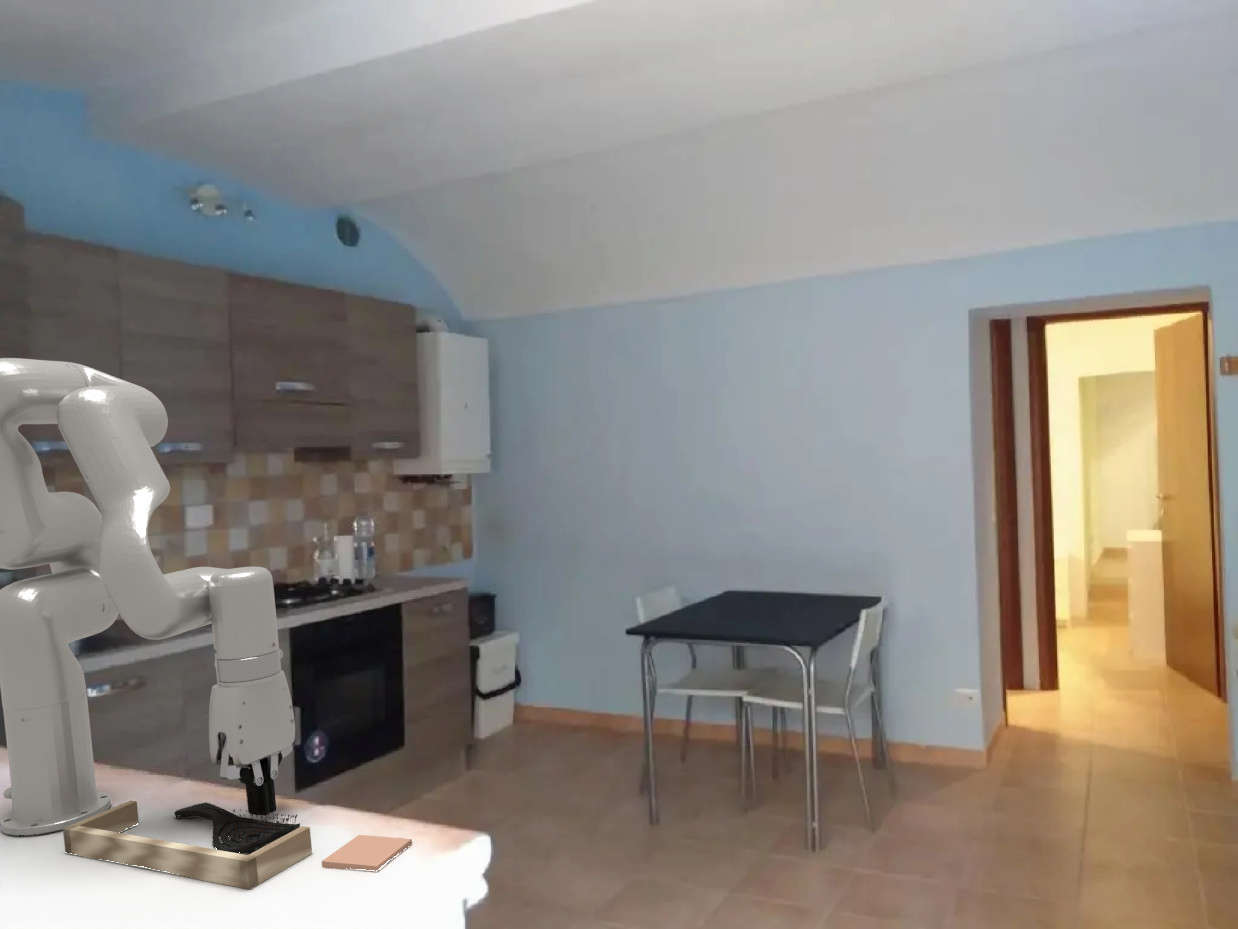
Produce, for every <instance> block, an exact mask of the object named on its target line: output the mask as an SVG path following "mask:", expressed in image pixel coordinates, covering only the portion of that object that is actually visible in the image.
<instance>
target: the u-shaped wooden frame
mask: <svg viewBox="0 0 1238 929" xmlns="http://www.w3.org/2000/svg"><path fill="white" fill-rule="evenodd" d="M138 810H139V809H138V801H137V800H128V801H126V802H124V803H121V804H119V805H116V806H114V807H113V806H112V807H111V808H108V810H106V811H104V812H101V813H99V814H97V815H94V816H92V817H89V818H87V819H85V820H82V821H80V822H77V823H75V824H73V825H70V826H68V827H65V828H63V829H62V833H63V842H64V852H67V853H72V854H77V855H80V856H79V857H81V856H84V857H83V858H86V857H89V858H88V859H91V858H94V859H93V860H96V859H102V860H109V861H114V862H119V863H122V864H123V863H124V864H128V865H137V866H144V867H147V868H151V869H155V870H160V871H167V872H170V873H174V874H179V875H181V876H180V877H184V876H186V877H184V878H188V877H192V878H191V879H193V878H196V879H195V880H199V879H200V881H205V882H210V883H214V884H219V885H225V886H231V887H234V888H240V889H246V890H252V889H253V888H255V887H257V886H258V885H261V884H262V883H264V882H265V881H267V880H269V879H270V878H272V877H274V876H276V875H277V874H279V873H281V872H282V871H285V870H286V869H288V868H291V867H292V866H294V865H295V864H296V863H298V862H301V861H302V860H304V859H305V858H307V857H308V856H311V855H312V854H313V846H312V837H311V836H312V835H311V827H310V826H301V825H300V827H299V828H298V829H296V830H294V831H292V832H290V833H288V834H286V835H284V836H283V837H281V838H279V839H277V840H275V841H273V842H271V843H269V844H266V845H264V846H262V847H259V848H257V849H256V850H255V851H253V852H251V853H250V854H245V853H244V854H238V853H233V852H227V851H221V850H216V849H215V848H209V847H203V846H199V845H198V846H197V845H191V844H184V843H180V842H174V841H169V840H163V839H159V838H158V839H157V838H152V837H146V836H145V837H144V836H140V835H136V834H135V835H134V834H128V833H124V832H122V833H119V832H121V831H123V830H125V829H126V828H130V827H132V826H133V825H136V824H137V823H139V824H140V822H139V821H140V820H139V811H138ZM102 860H101V861H102ZM122 864H121V865H122Z"/></svg>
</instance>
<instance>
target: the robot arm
mask: <svg viewBox="0 0 1238 929" xmlns="http://www.w3.org/2000/svg"><path fill="white" fill-rule="evenodd" d="M21 425H57V426H58V430H59V432H60V433H61V436H62V438H63V440H64V442H65V444H66V446H67V448H68V450H69V452H70V454H71V455H72V457H73V460H74V462H75V463H76V464H77V467H78V469H79V472H80V473H81V475H82V477H83V479H84V481H85V482H86V484H87V486H88V488H89V491H90V492H91V495H92V497H93V499H94V500H95V502H96V505H97V506H98V507H97V506H96V505H95V503H94V502H92V500H90V499H89V498H88V497H87V496H85V495H82V494H80V493H77V492H74V491H73V492H72V491H55V492H54V491H53V492H49V491H48V490H49V489H48V487H47V485H46V481H45V478H44V474H43V467H42V464H41V461H40V459H39V456H38V455H37V453H36V450H35V449H34V448H33V446H32V445H31V443H30V442H29V441H28V440H27V438H25V437H24V435H22V433H21V432H19V427H20V426H21ZM168 425H169V419H168V414H167V411H166V408H165V406H164V404H163V403H162V401H161V400H160V399H159V398H158V396H156V395H155V394H154V393H153V392H152V391H150V390H148V389H146V388H145V387H143V386H140V385H138V384H135V383H132V382H129V381H127V380H124V379H122V378H119V377H116V376H114V375H111V374H108V373H107V372H103V371H101V370H98V369H95V368H92V367H89V366H87V365H84V364H80V363H76V362H70V361H59V360H45V359H32V358H18V357H1V358H0V569H1V570H2V569H3V570H10V571H11V570H21V569H27V568H29V569H30V568H33V567H34V568H35V567H40V566H45V565H49V567H50V571H51V573H48V574H44V575H38V576H33V577H28V578H24V579H22V580H21V579H20V580H17V581H14V582H12V583H11V584H10V583H9V584H8V585H5V586H4V587H3V588H1V589H0V695H1V697H0V698H1V704H2V705H1V706H2V710H3V712H2V713H3V720H4V721H3V722H4V730H5V739H6V750H7V757H8V758H7V760H8V767H9V776H10V778H9V779H10V787H7V788H6V789H5V790H4V791H3V797H4V798H5V799H8V800H11V806H12V809H11V810H10V811H9V812H8V813H6V814H5V815H4V816H3V817H2V818H1V820H0V829H1V831H2V833H5V834H6V835H9V834H10V835H11V836H19V835H22V836H21V837H23V835H24V836H34V834H36V835H43V834H49V833H53V832H57V831H63V828H65V827H68V826H70V825H73V824H75V823H77V822H80V821H82V820H85V819H87V818H89V817H92V816H94V815H97V814H99V813H101V812H104V811H106V810H109V809H110V807H111V805H112V798H111V795H110V794H109V793H108V792H104V791H102V790H97V783H96V773H95V772H96V771H95V763H94V752H93V743H92V742H93V740H92V732H91V723H90V722H91V721H90V713H89V712H90V711H89V704H88V703H89V702H88V694H87V685H86V679H85V674H84V671H83V668H82V665H81V664H80V662H79V661H78V659H77V658H76V656H75V655H74V653H73V652H72V650H71V647H70V646H69V644H70V643H72V642H75V641H78V640H82V639H85V638H88V637H91V636H95V635H97V634H100V633H102V632H104V631H106V630H107V629H109V628H110V627H111V626H113V624H114V623H115V621H116V620H117V619H118V616H119V615H120V617H121V619H122V620H123V621H124V623H125V624H126V625H127V626H128V627H129V629H130V630H131V631H132V632H134V633H135V634H136V635H137V636H139V637H141V638H144V639H147V640H154V641H155V640H157V641H158V640H165V639H168V638H171V637H174V636H177V635H180V634H183V633H185V632H186V633H187V632H189V631H192V630H196V629H199V628H201V627H205V626H207V625H211V629H212V639H213V641H212V642H213V649H214V650H213V651H214V662H215V673H216V682H217V683H215V684H214V685H212V687H211V692H210V698H209V699H210V700H209V709H208V710H209V712H208V740H209V754H210V760H211V764H213V765H217V766H219V765H220V770H219V777H220V779H221V780H222V779H223V780H236V779H238V781H239V783H240V784H243V785H245V793H246V802H247V804H246V805H247V812H248V814H249V815H250V814H251V815H252V814H253V816H256V815H258V816H260V817H261V816H262V817H268V816H269V815H271V814H273V813H274V812H276V811H277V801H276V791H275V779H276V778H277V777H278V775H279V766H280V765H281V762H282V760H283V759H284V758H286V757H287V756H288V755H290V754H291V753H292V752H293V749H294V748H293V743H294V741H295V738H296V724H295V722H296V721H295V716H294V708H293V702H292V696H291V692H290V688H289V685H288V681H287V678H286V677H287V676H286V674H285V671H284V670H282V665H281V664H282V663H281V659H282V658H284V651H283V650H282V649H281V648H280V645H279V644H280V643H279V632H278V622H277V621H278V620H277V612H276V611H277V610H276V601H275V600H276V599H275V589H274V582H273V581H274V580H273V575H272V573H271V571H269V569H268V568H265V567H264V566H263V567H262V566H242V567H234V568H233V567H232V568H222V567H221V568H220V567H213V566H198V567H190V568H187V569H182V570H177V571H173V572H169V573H165V574H164V573H163V572H162V571H161V568H160V567H159V564H158V563H157V561H156V559H155V556H154V554H153V553H152V550H151V549H152V548H151V546H150V542H149V536H148V535H149V530H148V529H149V524H150V520H151V517H152V515H153V513H154V511H155V510H156V508H157V507H158V506H160V505H161V504H162V503H163V502H164V501H165V500H166V499H167V498H168V496H169V495H170V491H171V485H170V482H169V480H168V478H167V476H166V474H165V473H164V471H163V469H162V467H161V465H160V463H159V461H158V460H157V458H156V455H155V453H154V451H153V450H152V448H153V447H155V446H156V445H157V444H159V443H160V442H161V441H163V439H164V438H165V435H166V433H167V430H168V427H169V426H168ZM98 508H99V509H98ZM252 810H253V812H252ZM257 811H259V813H257ZM263 813H264V815H263ZM268 813H269V815H268ZM10 835H9V836H10Z"/></svg>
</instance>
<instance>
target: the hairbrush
mask: <svg viewBox="0 0 1238 929" xmlns="http://www.w3.org/2000/svg"><path fill="white" fill-rule="evenodd" d="M241 810H242V809H241V808H240V809H239V811H240V813H241ZM235 812H236V809H232V812H231V811H229V810H227V809H225V808H223V807H220V806H218V805H215V804H214V803H213V804H212V803H210V802H202V803H196V804H193V805H190V806H185V807H181V808H180V809H176V810H175V811H174V812H173V813H174V817H175V816H176V818H177V819H182V818H200V819H204V820H207V821H211V822H212V839H213V841H212V847H213V846H214V847H216V848H217V850H221V851H227V852H233V853H238V854H244V855H245V854H246V853H249V852H252V851H254V850H255V851H256V850H258V849H260V848H262V847H264V846H266V845H268V844H270V843H271V842H273V841H275V840H277V839H279V838H281V837H283V836H284V835H286V834H288V833H290V832H292V831H294V830H296V829H298V828H299V827H301V823H300V822H299V823H296V822H297V817H298V814H293V815H290V814H288V815H287V817H286V814H284V817H283V814H281V816H280V817H283V818H282V820H279V817H278V816H279V814H278V813H277V814H276V813H275V814H274V812H273V813H272V816H273V818H272V820H271V817H268V819H267V816H269V815H270V814H269V813H268V815H267V816H264V817H265V820H264V819H263V816H260V819H259V818H258V817H259V815H255V818H253V816H254V815H253V814H249V817H246V816H245V814H243V816H242V814H240V813H239V815H238V814H235ZM245 812H246V813H247V812H248V809H245ZM252 812H253V810H252ZM257 813H259V811H257ZM263 815H264V813H263ZM274 815H275V816H276V818H275V817H274ZM285 817H286V818H285ZM176 818H175V819H176ZM292 818H293V819H294V821H293V820H292V822H291V819H292ZM275 819H276V820H275ZM289 822H291V823H289ZM229 835H230V837H228V836H229ZM219 836H220V838H219ZM212 839H211V840H212ZM221 840H222V842H223V843H222V842H221ZM214 847H213V848H214ZM239 852H240V853H239Z"/></svg>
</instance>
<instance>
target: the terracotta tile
mask: <svg viewBox="0 0 1238 929" xmlns="http://www.w3.org/2000/svg"><path fill="white" fill-rule="evenodd" d="M412 845H413V841H412V838H402V837H393V836H392V837H389V836H378V835H377V836H376V835H365V834H358V835H357V836H355V837H353V838H352V839H351V840H349V841H348V842H346V843H345V844H344V845H342V846H341V847H340V848H338V849H336V850H335V851H334V852H332V853H331V854H330V855H328V856H327V857H325V858H324V859H322V860H321V868H322V867H324V869H333V868H335V870H344V869H346V868H347V869H350V868H351V869H366V870H375V871H376V870H378V869H379V868H380V867H381V866H382V865H384V864H385V863H386V862H387V861H388V860H390V859H392V858H393V857H394V856H396V855H397V854H398V853H400V852H402V851H403V850H404V849H405V848H407V847H408V846H410V847H411V846H412ZM408 848H409V847H408ZM408 848H407V849H408ZM403 852H404V851H403ZM403 852H402V853H403Z"/></svg>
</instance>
